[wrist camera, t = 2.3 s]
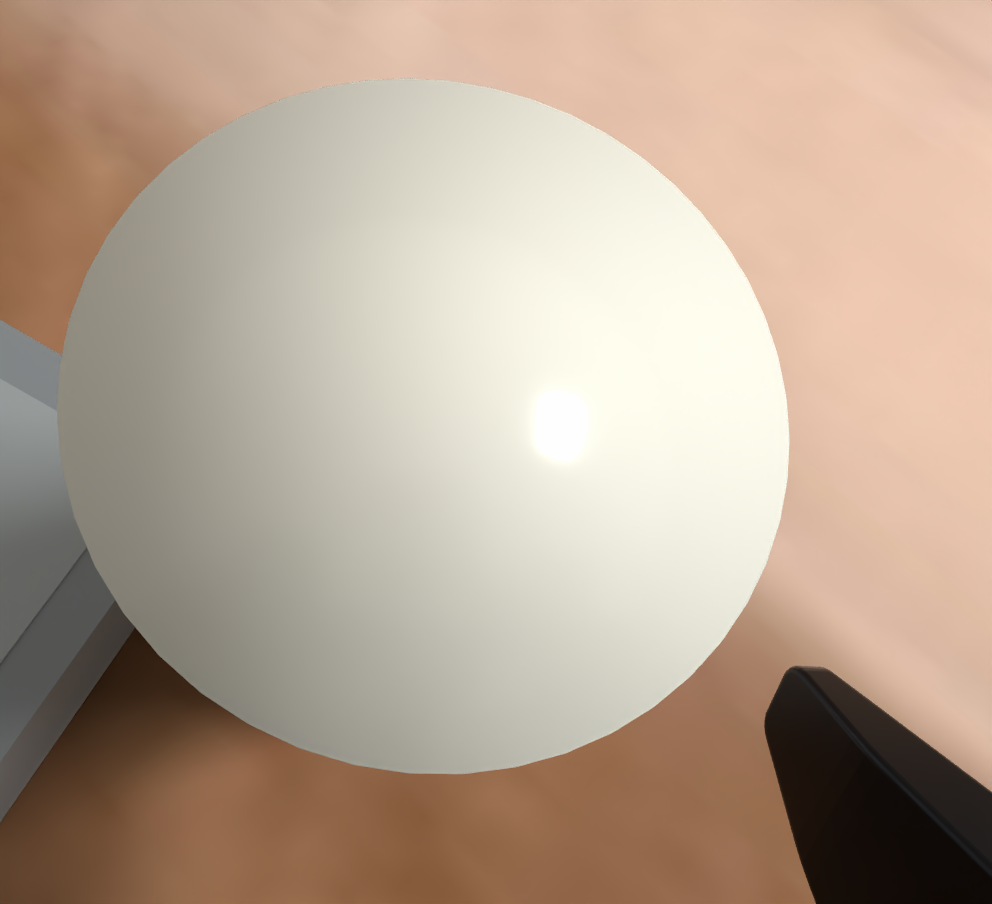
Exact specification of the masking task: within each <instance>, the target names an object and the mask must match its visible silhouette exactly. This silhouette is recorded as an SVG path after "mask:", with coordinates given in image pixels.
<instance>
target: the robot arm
mask: <svg viewBox="0 0 992 904" xmlns="http://www.w3.org/2000/svg"><path fill="white" fill-rule="evenodd" d="M764 727H765V735H766V739H767V743H768V746H769V750H770V754H771V757H772V761H773V764H774V768H775V772H776V775H777V779H778V783H779V786H780V790H781V794H782V797H783V801H784V805H785V808H786V812H787V815H788V819H789V823H790V826H791V830H792V834H793V837H794V841H795V844H796V847H797V851H798V854H799V857H800V860H801V864H802V866H803V869H804V872H805V875H806V878H807V881H808V883H809V886H810V889H811V891H812V894H813V897H814V899H815V902H816V904H992V792H991V791H990V790H989V789H987V788H986V787H985V786H983V785H982V784H981V783H979V782H978V781H977V780H975V779H974V778H973V777H971V776H970V775H969V774H967V773H966V772H965V771H963V770H962V769H961V768H959V767H958V766H957V765H955V764H954V763H953V762H951V761H950V760H949V759H947V758H946V757H945V756H943V755H942V754H941V753H939V752H938V751H937V750H935V749H934V748H933V747H931V746H930V745H929V744H927V743H926V742H925V741H923V740H922V739H921V738H919V737H918V736H917V735H915V734H914V733H913V732H911V731H910V730H909V729H907V728H906V727H905V726H903V725H902V724H901V723H899V722H898V721H897V720H895V719H894V718H893V717H891V716H890V715H889V714H887V713H886V712H885V711H883V710H882V709H881V708H879V707H878V706H877V705H875V704H874V703H873V702H871V701H870V700H869V699H867V698H866V697H865V696H863V695H862V694H861V693H859V692H858V691H857V690H855V689H854V688H853V687H851V686H850V685H849V684H847V683H846V682H845V681H843V680H842V679H841V678H839V677H838V676H837V675H835V674H834V673H833V672H831V671H830V670H828V669H826V668H823V667H814V666H793V667H791V668H790V669H788V670H787V671H786V672H785V674H784V676H783V678H782V680H781V682H780V685H779V687H778V689H777V691H776V693H775V695H774V697H773V699H772V701H771V704H770V706H769V708H768V710H767V712H766V716H765V725H764Z"/></svg>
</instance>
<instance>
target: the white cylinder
mask: <svg viewBox="0 0 992 904" xmlns="http://www.w3.org/2000/svg"><path fill="white" fill-rule="evenodd" d="M57 424H58V434H59V445H60V455H61V466H62V470H63V474H64V478H65V482H66V486H67V490H68V494H69V498H70V502H71V506H72V510H73V514H74V518H75V520H76V522H77V525H78V527H79V530H80V532H81V534H82V537H83V539H84V541H85V544H86V546H87V549H88V551H89V553H90V556H91V558H92V561H93V563H94V565H95V567H96V569H97V571H98V572H99V574H100V575H101V577H102V579H103V580H104V582H105V584H106V585H107V587H108V589H109V590H110V592H111V594H112V595H113V597H114V598H115V600H116V602H117V603H118V605H119V607H120V608H121V610H122V612H123V613H124V614H125V616H126V617H127V618H128V619H129V620H130V622H131V623H132V624H133V625H134V626H135V628H136V629H137V630H138V631H139V632H140V633H141V635H142V636H143V637H144V638H145V639H146V641H147V642H148V643H149V644H150V645H151V647H152V648H153V649H154V650H155V651H156V653H157V654H158V655H159V656H160V657H161V658H162V659H163V660H164V661H166V662H167V663H168V664H169V665H170V666H171V667H172V668H173V669H175V670H176V671H177V672H178V673H179V674H180V675H181V676H182V677H184V678H185V679H186V680H187V681H188V682H189V683H190V684H191V685H192V686H194V687H195V688H196V689H197V690H198V691H199V692H200V693H202V694H203V695H205V696H206V697H208V698H209V699H211V700H212V701H214V702H215V703H217V704H218V705H220V706H221V707H223V708H224V709H226V710H227V711H229V712H230V713H232V714H233V715H235V716H237V717H238V718H240V719H241V720H243V721H244V722H246V723H247V724H249V725H251V726H253V727H255V728H257V729H259V730H262V731H264V732H266V733H268V734H270V735H272V736H274V737H276V738H279V739H281V740H283V741H285V742H287V743H289V744H291V745H293V746H296V747H298V748H300V749H303V750H307V751H310V752H313V753H317V754H320V755H323V756H326V757H330V758H333V759H336V760H339V761H343V762H346V763H349V764H352V765H358V766H365V767H371V768H377V769H384V770H390V771H397V772H403V773H424V774H467V773H474V772H482V771H490V770H498V769H505V768H513V767H518V766H522V765H525V764H529V763H532V762H536V761H540V760H543V759H547V758H550V757H554V756H558V755H561V754H565V753H567V752H570V751H572V750H574V749H577V748H579V747H581V746H583V745H586V744H588V743H590V742H593V741H595V740H597V739H599V738H602V737H604V736H606V735H608V734H611V733H613V732H614V731H616V730H618V729H619V728H621V727H622V726H624V725H626V724H627V723H629V722H630V721H632V720H634V719H635V718H637V717H639V716H640V715H642V714H643V713H645V712H647V711H648V710H650V709H651V708H653V707H654V706H656V705H657V704H658V703H659V702H660V701H662V700H663V699H664V698H665V697H666V696H668V695H669V694H670V693H671V692H672V691H673V690H675V689H676V688H677V687H678V686H679V685H681V684H682V683H683V682H684V681H685V680H687V679H688V678H689V677H690V676H691V675H692V674H693V673H694V672H695V671H696V670H697V668H698V667H699V666H700V665H701V664H702V663H703V662H704V661H705V659H706V658H707V657H708V656H709V655H710V654H711V653H712V652H713V651H714V649H715V648H716V647H717V646H718V645H719V644H720V643H721V642H722V640H723V639H724V637H725V636H726V634H727V633H728V631H729V630H730V628H731V627H732V625H733V624H734V622H735V621H736V619H737V618H738V616H739V615H740V613H741V612H742V610H743V609H744V607H745V606H746V604H747V603H748V600H749V598H750V596H751V594H752V592H753V590H754V588H755V586H756V584H757V582H758V580H759V578H760V576H761V573H762V571H763V569H764V567H765V565H766V563H767V560H768V557H769V554H770V551H771V547H772V544H773V541H774V538H775V535H776V532H777V529H778V526H779V523H780V518H781V512H782V507H783V501H784V496H785V490H786V485H787V477H788V456H789V427H788V414H787V401H786V393H785V388H784V383H783V378H782V374H781V369H780V364H779V359H778V355H777V352H776V349H775V346H774V343H773V340H772V337H771V334H770V331H769V328H768V324H767V321H766V318H765V316H764V314H763V312H762V309H761V307H760V305H759V303H758V301H757V299H756V297H755V294H754V292H753V290H752V288H751V286H750V284H749V282H748V280H747V278H746V276H745V275H744V273H743V271H742V270H741V268H740V266H739V265H738V263H737V262H736V260H735V258H734V257H733V255H732V253H731V252H730V250H729V248H728V247H727V245H726V244H725V243H724V241H723V240H722V239H721V237H720V236H719V235H718V234H717V232H716V231H715V230H714V228H713V227H712V226H711V225H710V223H709V222H708V221H707V219H706V218H705V217H704V216H703V214H702V213H701V212H700V211H699V210H698V209H697V208H696V207H695V206H694V205H693V204H692V203H691V202H690V200H689V199H688V198H687V197H686V196H685V195H684V194H683V193H682V192H681V191H680V190H679V189H678V188H677V187H676V186H675V185H674V184H673V183H672V182H671V181H670V180H668V179H667V178H666V177H665V176H664V175H662V174H661V173H660V172H659V171H658V170H656V169H655V168H654V167H653V166H652V165H650V164H649V163H648V162H647V161H646V160H644V159H643V158H642V157H641V156H639V155H638V154H636V153H635V152H633V151H632V150H630V149H629V148H627V147H626V146H624V145H623V144H621V143H620V142H618V141H617V140H615V139H614V138H612V137H611V136H609V135H608V134H606V133H604V132H602V131H600V130H599V129H597V128H595V127H593V126H591V125H589V124H587V123H585V122H583V121H582V120H580V119H578V118H576V117H574V116H572V115H570V114H567V113H565V112H563V111H560V110H558V109H555V108H553V107H550V106H548V105H545V104H543V103H540V102H538V101H535V100H533V99H529V98H526V97H522V96H519V95H515V94H512V93H508V92H505V91H501V90H498V89H494V88H489V87H483V86H478V85H472V84H466V83H460V82H455V81H445V80H429V79H413V78H404V79H382V80H365V81H359V82H352V83H346V84H340V85H334V86H328V87H323V88H319V89H316V90H312V91H309V92H305V93H301V94H298V95H294V96H291V97H287V98H284V99H281V100H279V101H276V102H274V103H272V104H269V105H267V106H264V107H262V108H260V109H257V110H255V111H252V112H250V113H248V114H245V115H243V116H241V117H239V118H238V119H236V120H234V121H232V122H231V123H229V124H227V125H225V126H224V127H222V128H220V129H218V130H217V131H215V132H213V133H211V134H210V135H208V136H206V137H204V138H203V139H202V140H200V141H199V142H198V143H196V144H195V145H194V146H193V147H191V148H190V149H189V150H187V151H186V152H185V153H183V154H182V155H181V156H179V157H178V158H177V159H175V160H174V161H173V162H171V163H170V164H169V165H168V166H167V167H166V168H165V169H164V170H163V171H162V172H161V173H160V174H159V175H158V176H157V177H156V178H155V179H154V180H153V181H152V182H151V183H150V184H149V185H148V186H147V187H146V188H145V189H144V190H143V191H142V192H141V193H140V194H139V195H138V196H137V197H136V198H135V200H134V201H133V202H132V203H131V205H130V206H129V207H128V209H127V210H126V211H125V213H124V214H123V215H122V217H121V218H120V219H119V221H118V222H117V223H116V225H115V226H114V227H113V229H112V230H111V231H110V232H109V234H108V236H107V238H106V240H105V241H104V243H103V245H102V247H101V249H100V250H99V252H98V254H97V256H96V258H95V259H94V261H93V263H92V265H91V267H90V268H89V270H88V272H87V274H86V277H85V279H84V282H83V285H82V287H81V290H80V293H79V295H78V298H77V300H76V303H75V306H74V308H73V311H72V314H71V316H70V320H69V324H68V329H67V334H66V339H65V343H64V348H63V353H62V357H61V362H60V369H59V386H58V403H57Z"/></svg>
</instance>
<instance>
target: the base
mask: <svg viewBox="0 0 992 904" xmlns="http://www.w3.org/2000/svg"><path fill="white" fill-rule="evenodd" d="M61 357H62V355H60V354H58V353H57V352H55V351H53V350H51V349H50V348H48V347H46V346H44V345H43V344H41V343H39V342H38V341H36V340H34V339H32V338H31V337H29V336H27V335H25V334H24V333H22V332H20V331H18V330H17V329H15V328H13V327H11V326H10V325H8V324H6V323H4V322H3V321H1V320H0V822H1V821H2V819H3V818H4V816H5V815H6V813H7V812H8V811H9V809H10V808H11V806H12V805H13V803H14V802H15V800H16V799H17V798H18V796H19V795H20V793H21V792H22V790H23V789H24V787H25V786H26V785H27V783H28V782H29V780H30V779H31V777H32V776H33V774H34V773H35V772H36V770H37V769H38V767H39V766H40V764H41V763H42V761H43V760H44V759H45V757H46V756H47V754H48V753H49V751H50V750H51V749H52V747H53V746H54V744H55V743H56V741H57V740H58V738H59V737H60V736H61V734H62V733H63V731H64V730H65V728H66V727H67V725H68V724H69V723H70V721H71V720H72V718H73V717H74V715H75V714H76V712H77V711H78V710H79V708H80V707H81V705H82V704H83V702H84V701H85V699H86V698H87V697H88V695H89V694H90V692H91V691H92V689H93V688H94V686H95V685H96V684H97V682H98V681H99V679H100V678H101V676H102V675H103V673H104V672H105V671H106V669H107V668H108V666H109V665H110V663H111V662H112V660H113V659H114V658H115V656H116V655H117V653H118V652H119V650H120V649H121V647H122V646H123V645H124V643H125V642H126V640H127V639H128V637H129V636H130V635H131V633H132V632H133V630H134V629H135V626H134V625H133V624H132V623H131V622H130V620H129V619H128V618H127V617H126V616H125V614H124V613H123V612H122V610H121V608H120V607H119V605H118V603H117V602H116V600H115V598H114V597H113V595H112V594H111V592H110V590H109V589H108V587H107V585H106V584H105V582H104V580H103V579H102V577H101V575H100V574H99V572H98V571H97V569H96V567H95V565H94V563H93V561H92V558H91V556H90V553H89V551H88V549H87V546H86V544H85V541H84V539H83V537H82V534H81V532H80V530H79V527H78V525H77V522H76V520H75V518H74V514H73V510H72V506H71V502H70V498H69V494H68V490H67V486H66V482H65V478H64V474H63V470H62V466H61V455H60V445H59V434H58V424H57V403H58V386H59V369H60V362H61Z"/></svg>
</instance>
